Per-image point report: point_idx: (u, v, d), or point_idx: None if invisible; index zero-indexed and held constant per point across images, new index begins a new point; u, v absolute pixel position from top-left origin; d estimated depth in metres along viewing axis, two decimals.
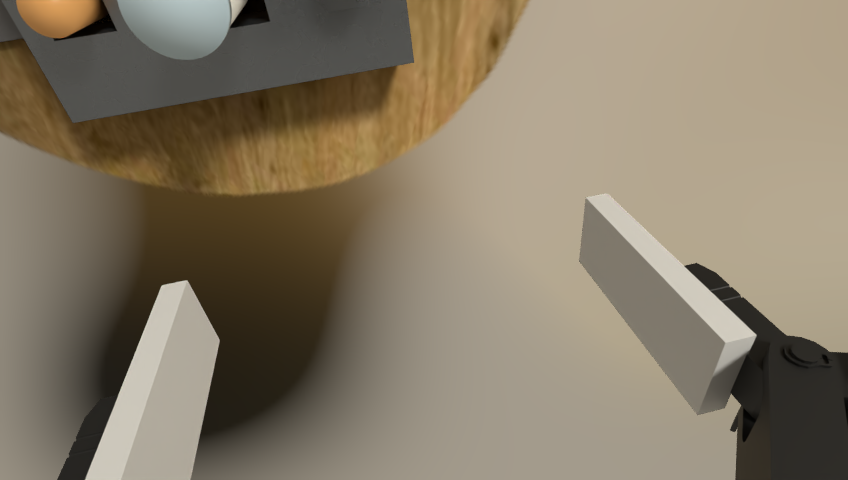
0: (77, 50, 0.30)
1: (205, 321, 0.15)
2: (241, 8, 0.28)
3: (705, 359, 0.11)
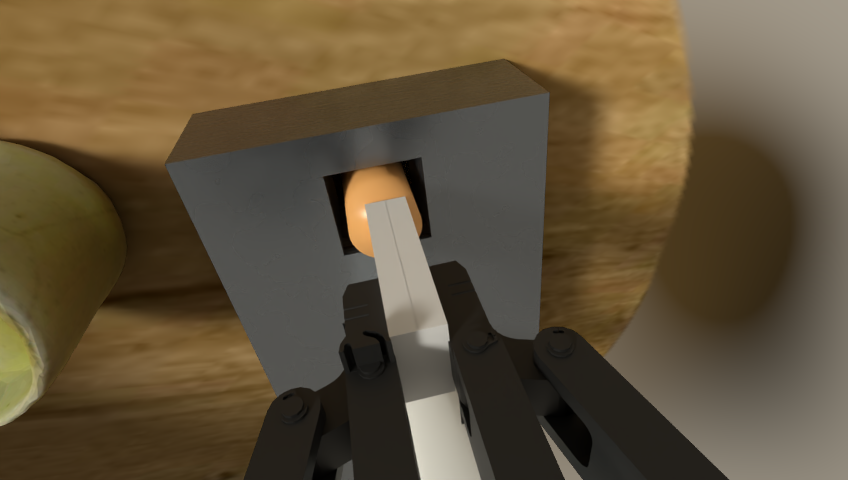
0: None
1: None
2: None
3: None
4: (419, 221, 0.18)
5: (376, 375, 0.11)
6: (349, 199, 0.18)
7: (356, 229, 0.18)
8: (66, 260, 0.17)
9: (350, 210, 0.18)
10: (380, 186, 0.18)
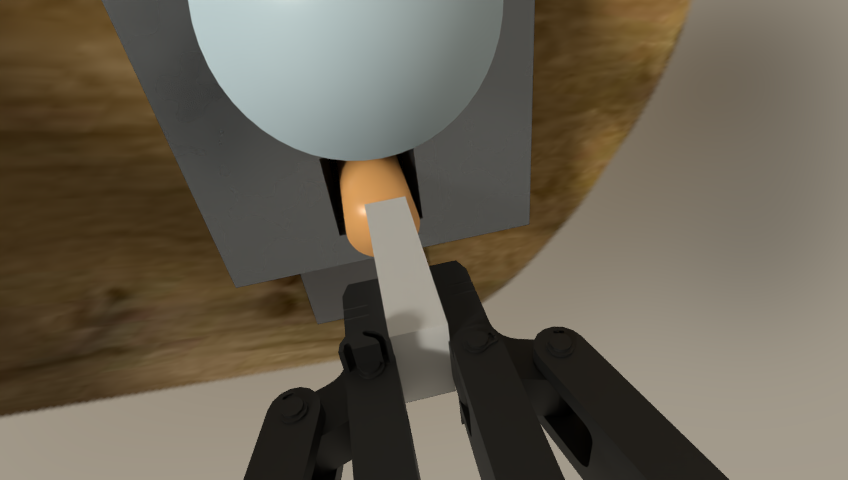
0: (436, 196, 0.21)
1: None
2: None
3: None
4: None
5: (376, 375, 0.11)
6: None
7: None
8: None
9: None
10: None
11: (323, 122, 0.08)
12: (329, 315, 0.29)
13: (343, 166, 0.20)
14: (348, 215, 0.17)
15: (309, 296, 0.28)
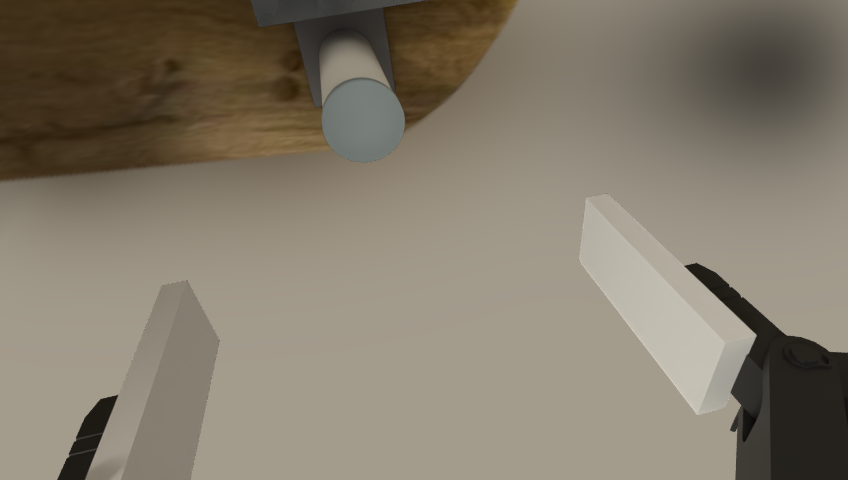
0: None
1: (205, 321, 0.15)
2: (370, 57, 0.31)
3: (705, 359, 0.11)
4: None
5: None
6: None
7: None
8: None
9: None
10: None
11: (354, 151, 0.27)
12: None
13: None
14: None
15: (308, 79, 0.39)
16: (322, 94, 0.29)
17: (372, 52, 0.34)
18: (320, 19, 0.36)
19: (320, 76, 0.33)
